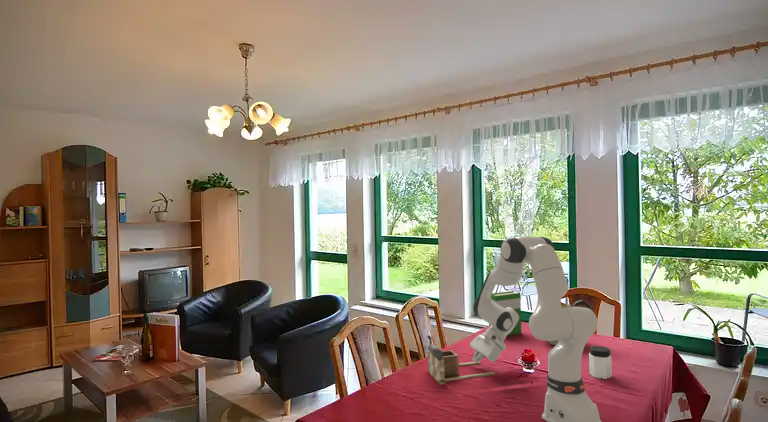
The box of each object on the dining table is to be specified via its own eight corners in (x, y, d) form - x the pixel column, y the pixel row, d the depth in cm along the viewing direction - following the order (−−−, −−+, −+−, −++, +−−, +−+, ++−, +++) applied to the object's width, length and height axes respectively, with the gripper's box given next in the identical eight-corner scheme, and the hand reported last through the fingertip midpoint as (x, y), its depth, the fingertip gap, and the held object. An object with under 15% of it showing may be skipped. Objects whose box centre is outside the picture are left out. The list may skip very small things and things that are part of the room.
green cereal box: (513, 330, 273) (512, 291, 273) (521, 333, 266) (520, 293, 266) (489, 333, 266) (488, 293, 266) (496, 337, 260) (495, 296, 259)
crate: (458, 375, 199) (458, 355, 199) (442, 377, 197) (441, 357, 197) (452, 369, 207) (451, 350, 207) (435, 371, 205) (435, 351, 205)
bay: (495, 377, 199) (494, 340, 199) (438, 384, 193) (437, 346, 193) (478, 364, 216) (477, 330, 216) (425, 370, 209) (424, 335, 209)
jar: (603, 380, 192) (603, 353, 192) (586, 375, 199) (585, 348, 199) (615, 375, 197) (614, 348, 197) (597, 370, 204) (597, 344, 204)
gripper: (478, 328, 217) (460, 350, 215) (499, 339, 197) (479, 364, 195) (486, 336, 218) (469, 358, 216) (508, 348, 198) (488, 373, 196)
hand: (474, 361), depth 205 cm, fingers closed
